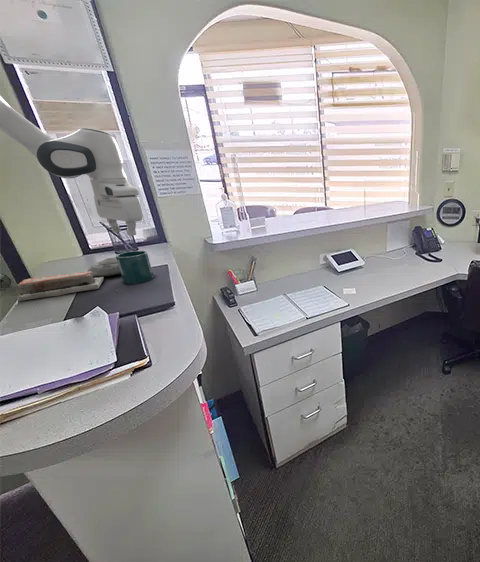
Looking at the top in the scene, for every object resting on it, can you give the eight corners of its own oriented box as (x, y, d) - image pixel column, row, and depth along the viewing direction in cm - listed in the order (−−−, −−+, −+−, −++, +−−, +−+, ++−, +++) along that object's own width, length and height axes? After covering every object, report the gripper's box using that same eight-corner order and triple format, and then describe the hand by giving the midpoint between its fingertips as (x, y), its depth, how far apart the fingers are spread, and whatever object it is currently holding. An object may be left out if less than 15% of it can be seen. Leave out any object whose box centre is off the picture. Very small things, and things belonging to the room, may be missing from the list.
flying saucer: (119, 279, 104) (114, 264, 102) (76, 279, 105) (70, 264, 103) (150, 265, 118) (146, 252, 116) (112, 265, 119) (107, 252, 117)
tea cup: (131, 285, 99) (123, 258, 96) (119, 281, 103) (110, 255, 99) (158, 277, 106) (151, 252, 103) (145, 274, 109) (138, 249, 106)
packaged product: (10, 286, 86) (23, 276, 93) (17, 302, 87) (30, 291, 95) (94, 274, 94) (100, 266, 102) (99, 289, 96) (104, 280, 104)
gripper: (83, 187, 96) (97, 232, 100) (116, 190, 87) (129, 239, 91) (107, 186, 101) (119, 229, 106) (141, 189, 92) (152, 235, 97)
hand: (124, 233), depth 98 cm, fingers open, 8 cm apart
